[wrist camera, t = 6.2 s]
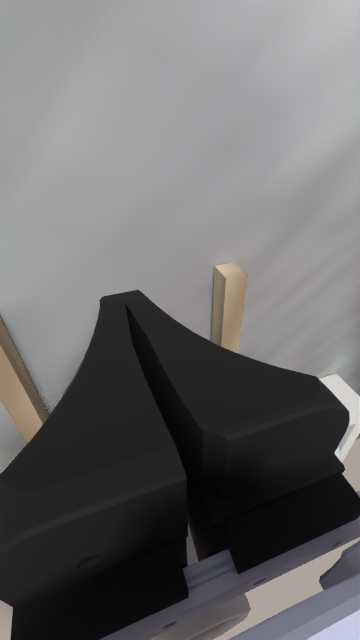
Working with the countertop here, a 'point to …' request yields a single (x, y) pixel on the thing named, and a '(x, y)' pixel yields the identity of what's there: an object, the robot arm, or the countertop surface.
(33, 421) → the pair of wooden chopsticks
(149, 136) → the countertop surface
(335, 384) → the dome housing
